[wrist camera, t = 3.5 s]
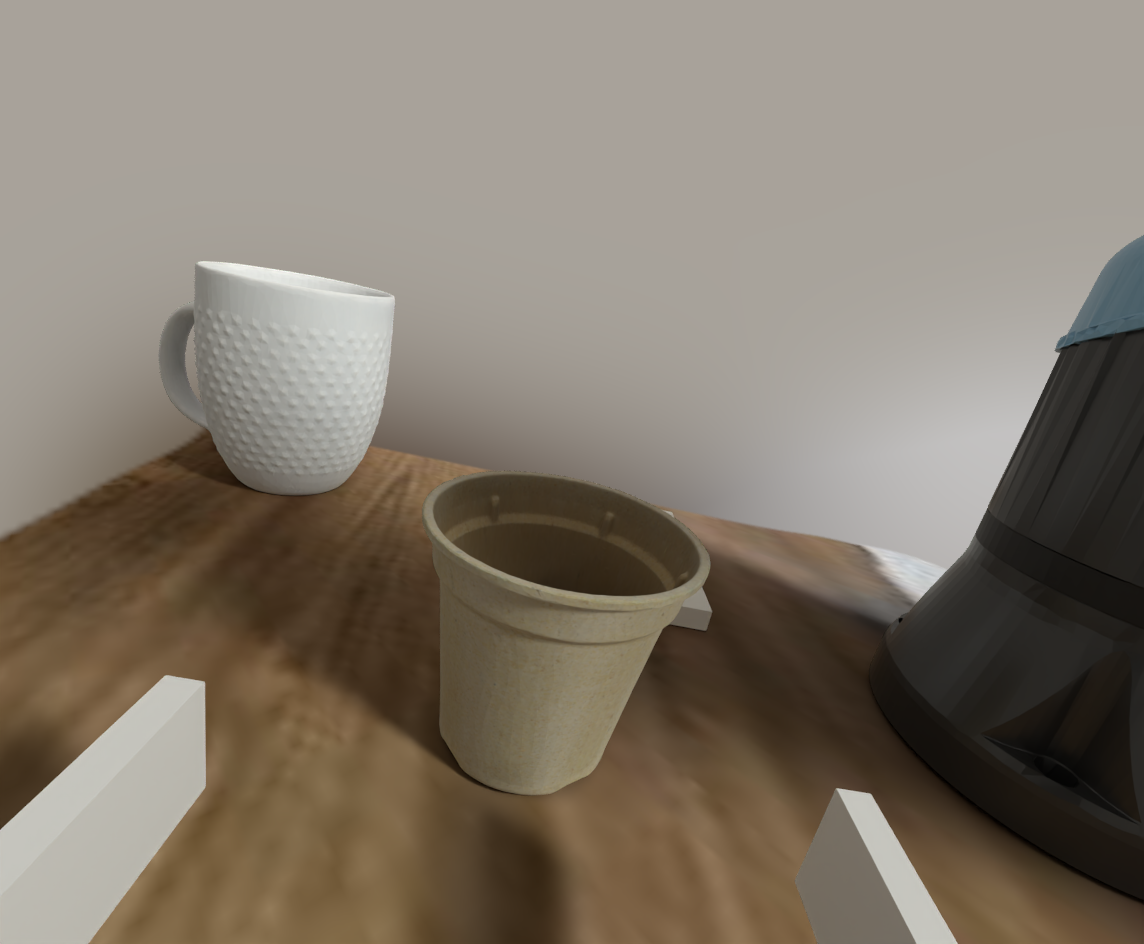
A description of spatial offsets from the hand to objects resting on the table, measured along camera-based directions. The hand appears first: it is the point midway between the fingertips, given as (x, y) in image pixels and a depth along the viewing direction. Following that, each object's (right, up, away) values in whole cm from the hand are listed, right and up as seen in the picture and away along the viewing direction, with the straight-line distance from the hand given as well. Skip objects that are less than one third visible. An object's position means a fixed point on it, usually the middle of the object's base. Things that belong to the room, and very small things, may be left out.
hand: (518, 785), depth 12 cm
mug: (-19, +6, +27) cm, 33 cm away
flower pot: (-1, -3, +9) cm, 10 cm away
